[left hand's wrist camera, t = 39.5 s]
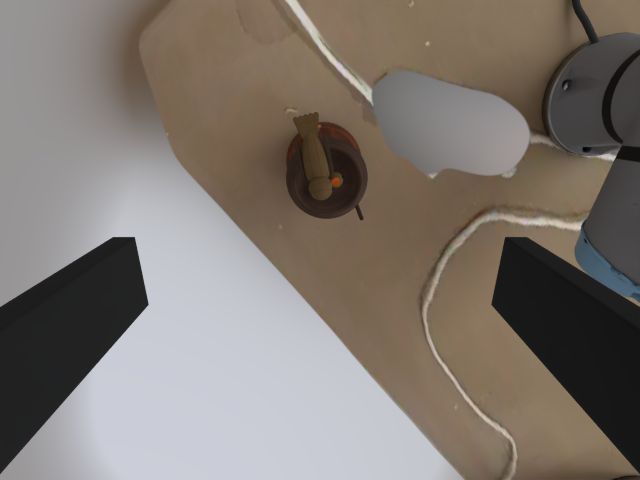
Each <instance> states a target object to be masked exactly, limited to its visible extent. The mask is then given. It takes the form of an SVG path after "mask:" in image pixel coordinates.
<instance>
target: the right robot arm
mask: <svg viewBox="0 0 640 480" xmlns="http://www.w3.org/2000/svg"><path fill="white" fill-rule="evenodd" d="M616 480H640V476H630V477H623V478H619V479H616Z"/></svg>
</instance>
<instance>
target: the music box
mask: <svg viewBox="0 0 640 480" xmlns="http://www.w3.org/2000/svg"><path fill="white" fill-rule="evenodd" d="M293 121H294V123H295V125H296V127H297V129H298V131H299V133H298V134H297V135H296V137H295V138H294V139H293V141H292V142H291V144H290V147H289V149H288V153H287V173H286V183H287V188H288V191H289V194H290V196H291V198H292V200H293V201H294V203H295V204H296V205H297V206H298V207H299V208H300V209H301V210H302V211H304V212H305V213H307V214H309V215H311V216H314V217H317V218H323V219H330V218H336V217H340V216H342V215H344V214H346V213H348V212H350V211H351V210H352V209H353V208H356V211H357V213H358V216H359V218H360V220H363V216H362V213H361V210H360V208H359V205H358V203H359V202H360V200H361V199H362V197H363V195H364V193H365V190H366V186H367V169H366V165H365V162H364V160H363V158H362V156H361V153H360V149H359V146H358V144H357V142H356V141H355V139H354V138H353V136H352V135H351V134H350V133H349V132H348V131H346V130H345V129H344V128H342V127H340V126H338V125H336V124H333V123H328V122H320V123H318V113H317V112H315V113H314V114H311V113H310V114H309V115H304V116H299V117H298V118H297V117H294V118H293Z"/></svg>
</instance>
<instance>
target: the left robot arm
mask: <svg viewBox="0 0 640 480" xmlns="http://www.w3.org/2000/svg"><path fill="white" fill-rule="evenodd" d="M572 5H573V8H574V11H575V13H576V15H577V17H578V18H579V20H580V21H581V23H582V25H583V27H584V29H585V31H586V33H587V35H588V37H589V40H590V42H588V43H586V44H584V45H582V46H581V47H579V48H577V49H576V50H575V51H574V52H572V53H571V54H570V55H569V56H568V57H567V58H566V59H565V60H564V61H563V62H562V63H561V64H560V66H559V67H558V68H557V70H556V71H555V73H554V74H553V76H552V78H551V80H550V82H549V84H548V86H547V89H546V92H545V95H544V99H543V106H542V116H543V123H544V126H545V129H546V132H547V134H548V135H549V137H550V138H551V140H552V141H553V142H554V143H555V144H556V145H557V146H558V147H560V148H562V149H563V150H565V151H568V152H571V153H575V154H581V155H588V156H596V155H603V154H608V153H612V152H616V151H619V152H618V154H617V156H616V158H615V160H614V162H613V164H612V166H611V169H610V171H609V173H608V175H607V177H606V179H605V182H604V184H603V186H602V188H601V190H600V192H599V194H598V197H597V199H596V201H595V203H594V205H593V207H592V209H591V212H590V214H589V216H588V218H587V219H586V220H585V221H584V222H583V223H582V225H581V233H580V236H579V238H578V241H577V243H576V246H575V250H574V251H575V258H576V261H577V262H578V264H579V265H580V267H581V268H582V269H583V270H584V271H585V272H586V273H588V274H589V275H590V276H591V277H590V276H589V275H587V274H586V273H584V272H582V271H581V270H579V269H577V268H576V267H574V266H573V265H571V264H569V263H568V262H566V261H565V260H563V259H561V258H560V257H558V256H556V255H555V254H553V253H552V252H550V251H548V250H547V249H545V248H544V247H542V246H540V245H539V244H537V243H535V242H534V241H532V240H531V239H529V238H527V237H505V241H504V246H503V251H502V256H501V260H500V265H499V270H498V275H497V280H496V285H495V290H494V294H493V299H492V304H491V305H492V306H493V307H494V308H495V309H496V311H497V312H498V313H499V314H500V315H501V316H502V317H503V318H504V320H505V321H506V322H507V323H508V324H509V325H510V326H511V328H512V329H513V330H514V331H515V332H516V333H517V334H518V336H519V337H520V338H521V339H522V340H523V341H524V342H525V344H526V345H527V346H528V347H529V348H530V349H531V350H532V352H533V353H534V354H535V355H536V356H537V357H538V358H539V360H540V361H541V362H542V363H543V364H544V365H545V366H546V368H547V369H548V370H549V371H550V372H551V373H552V374H553V376H554V377H555V378H556V379H557V380H558V381H559V382H560V384H561V385H562V386H563V387H564V388H565V389H566V390H567V392H568V393H569V394H570V395H571V396H572V397H573V398H574V399H575V401H576V402H577V403H578V404H579V405H580V406H581V407H582V409H583V410H584V411H585V412H586V413H587V414H588V415H589V417H590V418H591V419H592V420H593V421H594V422H595V423H596V425H597V426H598V427H599V428H600V429H601V430H602V431H603V433H604V434H605V435H606V436H607V437H608V438H609V439H610V441H611V442H612V443H613V444H614V445H615V446H616V447H617V449H618V450H619V451H620V452H621V453H622V454H623V455H624V457H625V458H626V459H627V460H628V461H629V462H630V463H631V465H632V466H633V467H634V468H635V469H636V470H637V471H638V473H639V474H640V307H639V306H637V305H636V304H634V303H632V302H631V301H629V300H628V299H626V298H624V297H623V296H625V297H632V298H634V299H635V300H637V301H638V302H640V35H639V34H634V33H617V34H612V35H608V36H604V37H600V38H598V37H597V35H596V33H595V31H594V29H593V27H592V25H591V22H590V20H589V19H588V17H587V15H586V14H585V12H584V10H583V9H582V7H581V4H580V0H572ZM592 277H593V278H592ZM616 292H617V293H616ZM618 293H619V294H621V295H623V296H621V295H619V294H618ZM147 306H148V299H147V294H146V290H145V285H144V280H143V275H142V270H141V265H140V261H139V256H138V251H137V246H136V241H135V237H113V238H111V239H109V240H108V241H106V242H105V243H103V244H101V245H100V246H98V247H97V248H95V249H93V250H92V251H90V252H88V253H87V254H85V255H84V256H82V257H80V258H79V259H77V260H76V261H74V262H72V263H71V264H69V265H67V266H66V267H64V268H63V269H61V270H59V271H58V272H56V273H54V274H53V275H51V276H50V277H48V278H46V279H45V280H43V281H42V282H40V283H38V284H37V285H35V286H33V287H32V288H30V289H29V290H27V291H25V292H24V293H22V294H21V295H19V296H17V297H16V298H14V299H13V300H11V301H9V302H8V303H6V304H4V305H3V306H1V307H0V474H1V473H2V471H3V470H4V469H5V468H6V467H7V466H8V464H9V463H10V462H11V461H12V460H13V459H14V458H15V457H16V455H17V454H18V453H19V452H20V451H21V450H22V449H23V447H24V446H25V445H26V444H27V443H28V442H29V441H30V439H31V438H32V437H33V436H34V435H35V434H36V433H37V431H38V430H39V429H40V428H41V427H42V426H43V425H44V423H45V422H46V421H47V420H48V419H49V418H50V417H51V415H52V414H53V413H54V412H55V411H56V410H57V409H58V407H59V406H60V405H61V404H62V403H63V402H64V401H65V399H66V398H67V397H68V396H69V395H70V394H71V393H72V391H73V390H74V389H75V388H76V387H77V386H78V385H79V384H80V382H81V381H82V380H83V379H84V378H85V377H86V376H87V374H88V373H89V372H90V371H91V370H92V369H93V368H94V366H95V365H96V364H97V363H98V362H99V361H100V360H101V358H102V357H103V356H104V355H105V354H106V353H107V352H108V350H109V349H110V348H111V347H112V346H113V345H114V344H115V342H116V341H117V340H118V339H119V338H120V337H121V336H122V334H123V333H124V332H125V331H126V330H127V329H128V328H129V326H130V325H131V324H132V323H133V322H134V321H135V320H136V318H137V317H138V316H139V315H140V314H141V313H142V312H143V310H144V309H145V308H146V307H147Z"/></svg>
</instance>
